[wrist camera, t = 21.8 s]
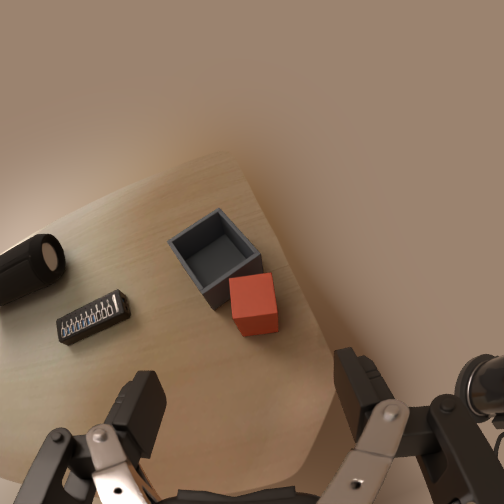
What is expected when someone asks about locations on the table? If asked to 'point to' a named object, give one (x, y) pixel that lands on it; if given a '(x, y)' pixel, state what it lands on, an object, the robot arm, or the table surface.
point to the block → (254, 304)
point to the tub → (215, 255)
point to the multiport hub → (93, 317)
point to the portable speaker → (30, 267)
